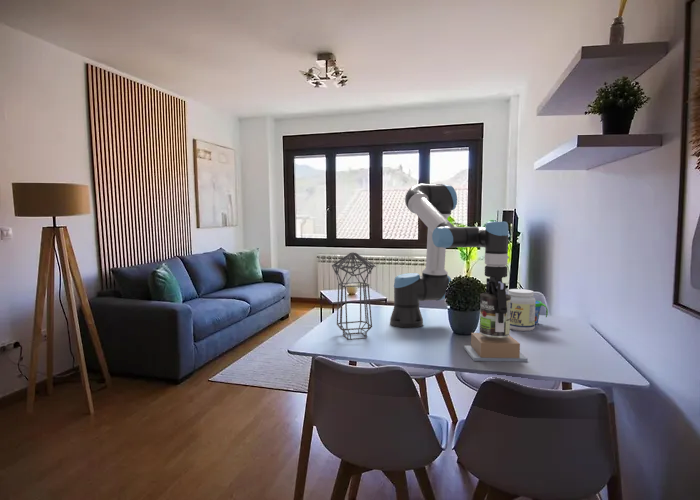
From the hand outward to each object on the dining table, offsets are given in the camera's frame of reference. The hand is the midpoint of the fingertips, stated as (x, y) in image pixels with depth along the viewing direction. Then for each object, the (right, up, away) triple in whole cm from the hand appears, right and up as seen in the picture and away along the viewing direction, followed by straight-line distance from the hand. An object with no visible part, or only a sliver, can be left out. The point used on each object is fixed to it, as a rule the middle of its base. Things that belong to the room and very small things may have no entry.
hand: (494, 327), depth 143 cm
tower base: (0, -10, +1) cm, 10 cm away
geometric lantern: (-50, -8, +25) cm, 56 cm away
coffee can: (0, -3, 0) cm, 3 cm away
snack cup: (+33, -7, +47) cm, 58 cm away
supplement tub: (+25, -8, +37) cm, 45 cm away
